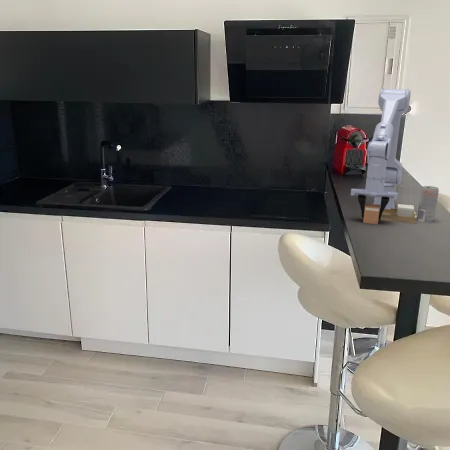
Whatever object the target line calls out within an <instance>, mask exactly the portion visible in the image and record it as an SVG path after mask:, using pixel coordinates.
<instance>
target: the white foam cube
mask: <svg viewBox="0 0 450 450" xmlns="http://www.w3.org/2000/svg"><path fill="white" fill-rule="evenodd" d="M414 206H415V205H413V204H412V205H411V204H402V203H397V207H396V209H397V214H398V216H407V217H413V212H415V207H414Z"/></svg>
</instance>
